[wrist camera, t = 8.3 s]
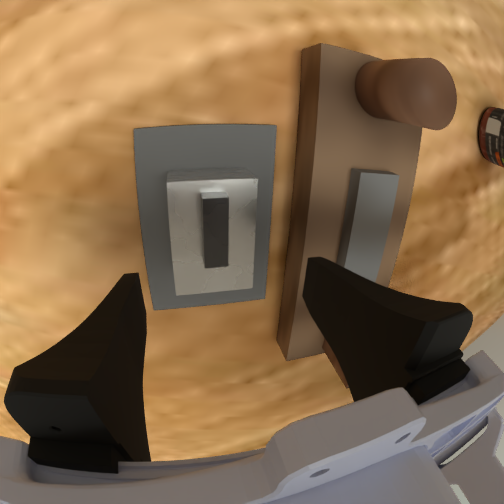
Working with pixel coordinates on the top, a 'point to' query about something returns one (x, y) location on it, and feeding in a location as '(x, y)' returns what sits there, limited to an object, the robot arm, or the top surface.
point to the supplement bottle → (492, 135)
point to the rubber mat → (198, 157)
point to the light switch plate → (212, 228)
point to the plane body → (354, 171)
